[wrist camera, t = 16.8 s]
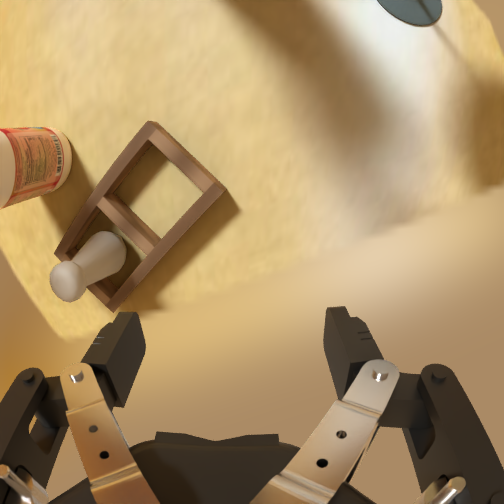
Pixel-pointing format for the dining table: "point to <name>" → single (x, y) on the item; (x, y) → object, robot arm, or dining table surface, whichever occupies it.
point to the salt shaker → (88, 265)
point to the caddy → (128, 219)
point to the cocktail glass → (414, 10)
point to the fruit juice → (32, 163)
